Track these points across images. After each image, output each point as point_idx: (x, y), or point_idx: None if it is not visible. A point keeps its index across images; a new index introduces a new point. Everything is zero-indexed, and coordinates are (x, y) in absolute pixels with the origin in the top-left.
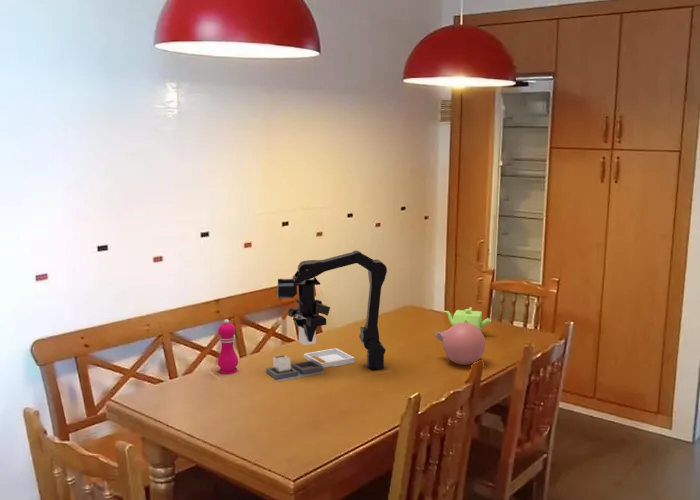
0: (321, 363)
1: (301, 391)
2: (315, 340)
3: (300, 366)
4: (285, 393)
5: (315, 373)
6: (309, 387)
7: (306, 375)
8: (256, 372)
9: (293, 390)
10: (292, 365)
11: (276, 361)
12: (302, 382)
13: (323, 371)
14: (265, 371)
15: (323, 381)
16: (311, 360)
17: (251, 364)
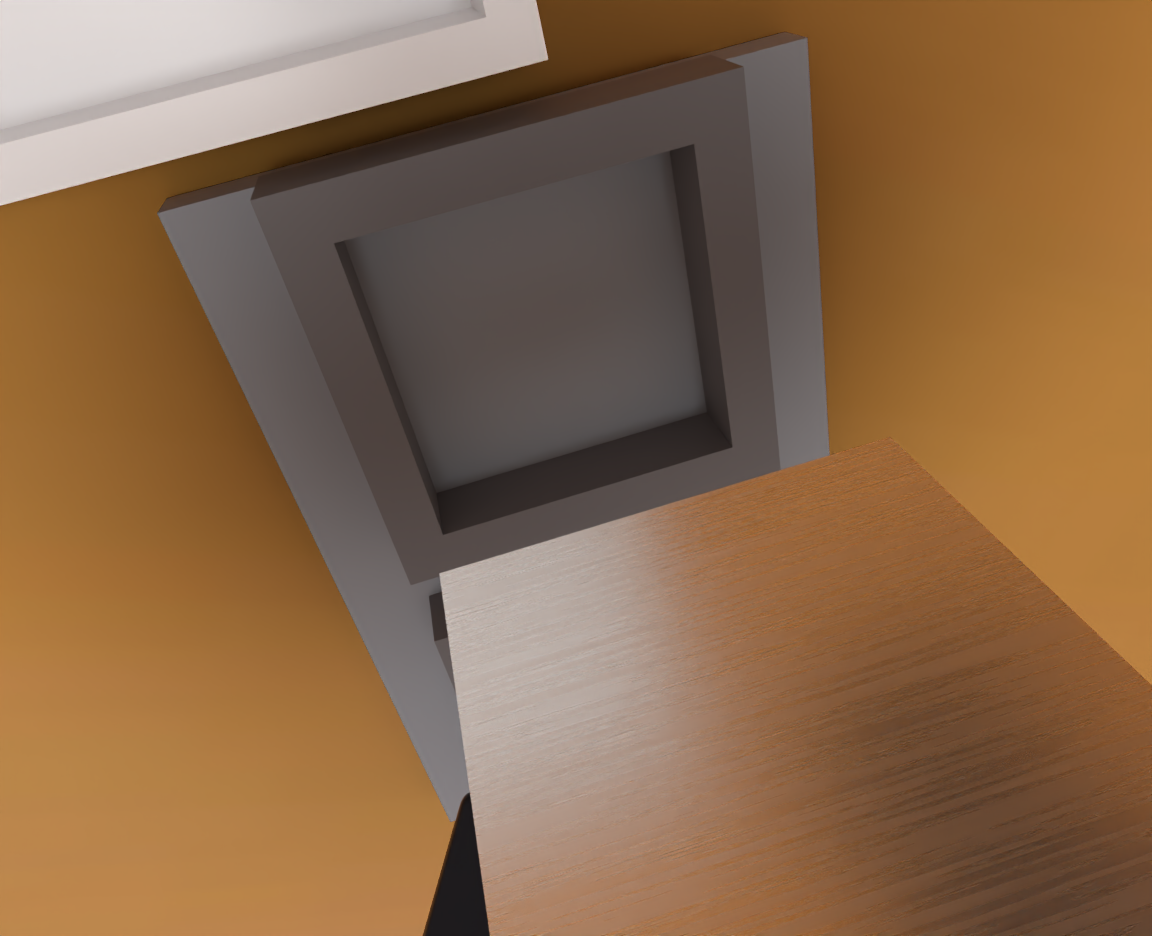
0: (517, 43)
1: (1146, 483)
2: (952, 508)
3: (409, 430)
4: (1091, 624)
5: (784, 235)
6: (1100, 384)
7: (804, 386)
8: (359, 860)
9: (1069, 553)
10: (428, 566)
11: None
12: (903, 438)
13: (746, 62)
14: (454, 815)
15: (1024, 151)
16: (267, 227)
17: (19, 925)
